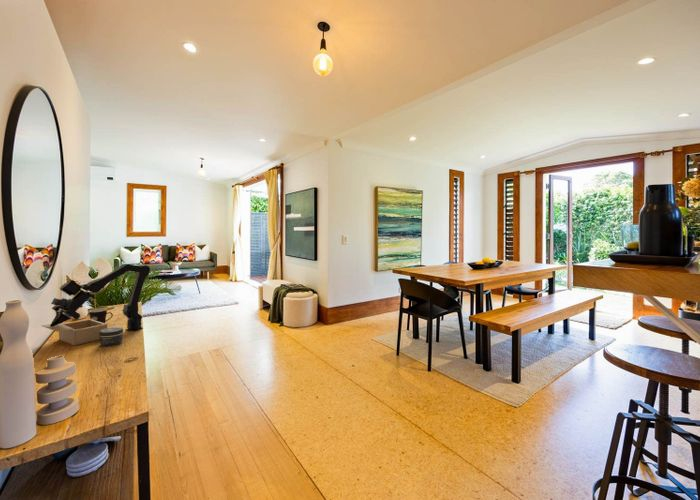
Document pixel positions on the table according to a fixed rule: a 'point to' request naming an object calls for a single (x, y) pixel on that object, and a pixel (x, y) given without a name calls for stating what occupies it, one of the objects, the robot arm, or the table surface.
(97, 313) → the coffee mug
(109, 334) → the jar
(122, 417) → the table surface
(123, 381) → the table surface
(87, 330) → the shipping carton
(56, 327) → the carton flap
